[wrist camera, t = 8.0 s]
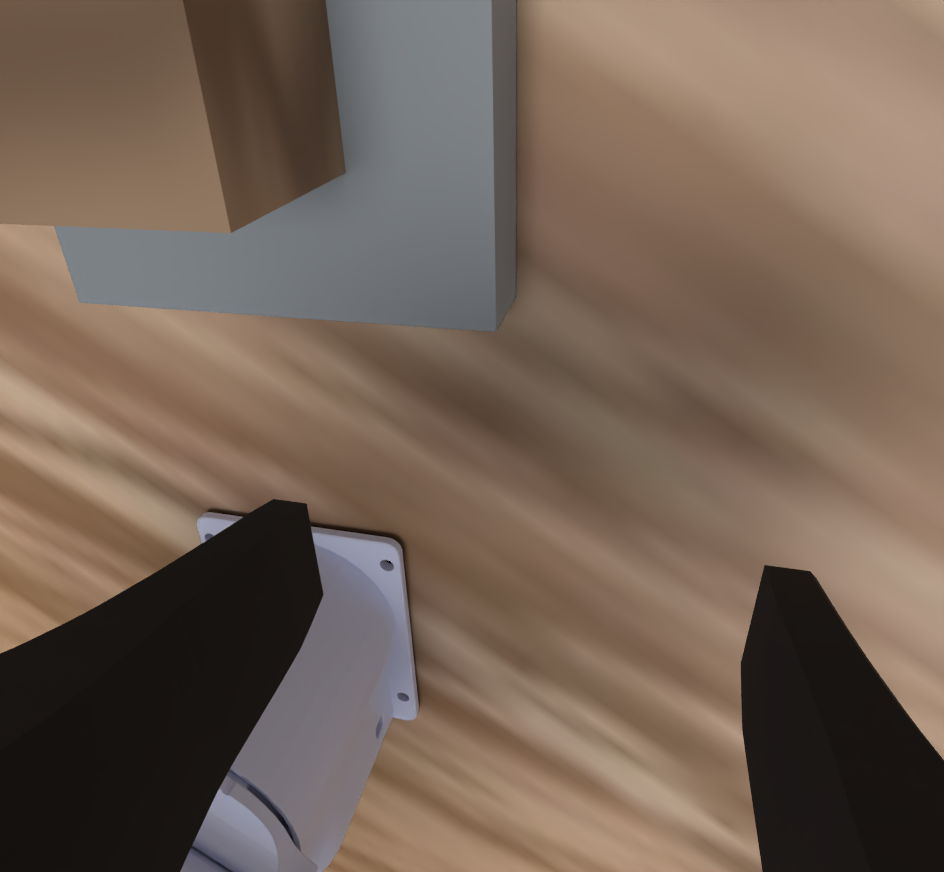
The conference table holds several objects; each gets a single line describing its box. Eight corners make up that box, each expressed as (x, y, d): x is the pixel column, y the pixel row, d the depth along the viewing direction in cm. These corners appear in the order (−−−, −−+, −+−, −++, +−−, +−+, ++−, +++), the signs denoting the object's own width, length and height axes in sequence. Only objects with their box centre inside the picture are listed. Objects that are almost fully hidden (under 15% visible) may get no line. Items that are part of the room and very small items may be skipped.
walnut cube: (345, 172, 16) (230, 233, 12) (155, 168, 17) (-10, 223, 13) (313, -101, 14) (153, -143, 9) (92, -84, 15) (-139, -116, 11)
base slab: (515, 296, 19) (496, 332, 17) (136, 274, 22) (79, 302, 20) (516, -324, 13) (486, -384, 11) (-14, -250, 16) (-117, -287, 14)
